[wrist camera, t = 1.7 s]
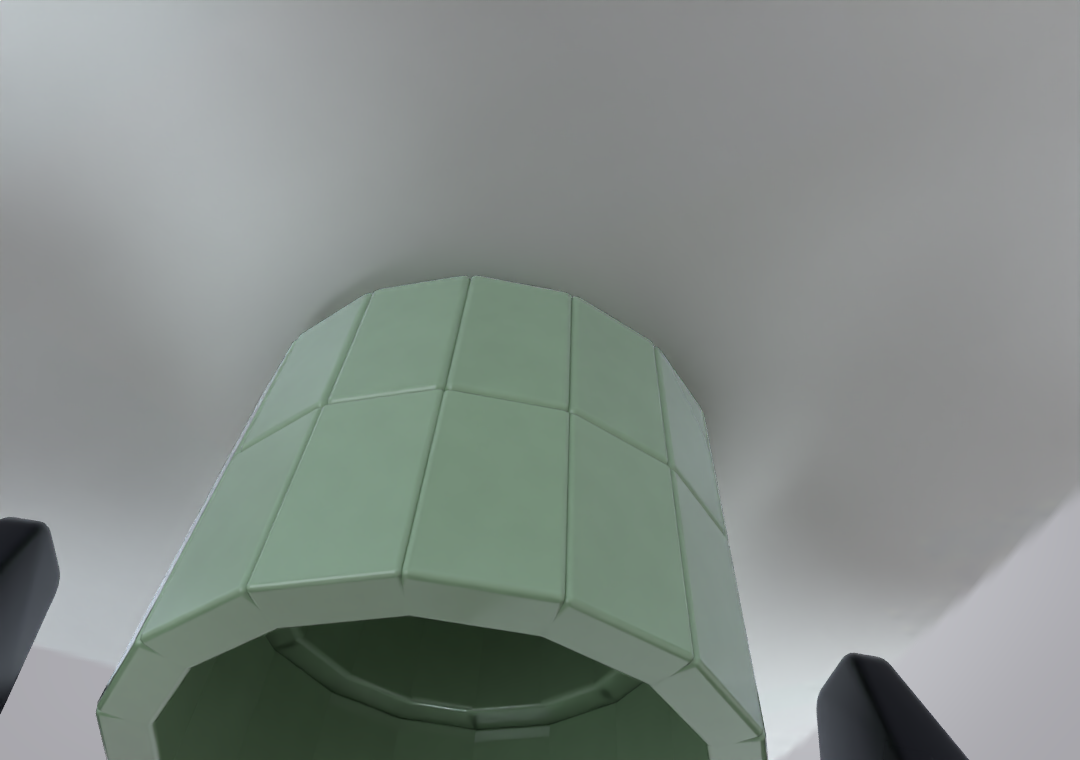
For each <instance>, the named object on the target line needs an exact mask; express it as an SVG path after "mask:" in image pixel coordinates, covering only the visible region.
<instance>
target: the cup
mask: <svg viewBox="0 0 1080 760" xmlns="http://www.w3.org/2000/svg"><path fill="white" fill-rule="evenodd" d="M96 716H97V720H98V725H99V729H100V733H101V737H102V742H103V746H104V750H105V754H106V759H107V760H768V756H767V743H766V733H765V728H764V723H763V717H762V712H761V707H760V702H759V697H758V691H757V686H756V681H755V676H754V671H753V666H752V660H751V655H750V650H749V645H748V640H747V634H746V629H745V624H744V619H743V614H742V608H741V603H740V598H739V593H738V588H737V582H736V577H735V572H734V567H733V562H732V556H731V551H730V546H729V544H728V536H727V530H726V525H725V520H724V515H723V510H722V504H721V499H720V494H719V489H718V484H717V478H716V473H715V468H714V463H713V458H712V452H711V447H710V442H709V437H708V432H707V426H706V421H705V416H704V413H703V412H702V411H701V407H700V406H699V404H698V403H697V401H696V400H695V398H694V397H693V396H692V394H691V393H690V391H689V390H688V388H687V387H686V386H685V384H684V383H683V381H682V380H681V378H680V377H679V376H678V374H677V373H676V371H675V370H674V368H673V367H672V365H671V364H670V363H669V361H668V360H667V358H666V357H665V355H664V354H663V353H662V351H661V350H660V349H659V348H658V347H656V346H654V344H653V343H652V342H651V341H650V340H649V339H647V338H646V337H644V336H642V335H641V334H639V333H638V332H636V331H634V330H633V329H631V328H629V327H628V326H626V325H624V324H623V323H621V322H619V321H618V320H616V319H614V318H613V317H611V316H610V315H608V314H606V313H605V312H603V311H601V310H600V309H598V308H596V307H595V306H593V305H591V304H590V303H588V302H586V301H585V300H583V299H582V298H580V297H577V296H574V297H572V298H571V295H570V294H568V293H567V292H563V291H557V290H552V289H547V288H542V287H536V286H531V285H526V284H521V283H515V282H510V281H505V280H500V279H494V278H489V277H484V276H479V275H477V276H473V277H472V278H471V279H470V278H469V276H465V275H462V276H456V277H450V278H444V279H438V280H432V281H426V282H419V283H413V284H407V285H401V286H395V287H389V288H383V289H378V290H376V291H375V292H373V293H367V294H364V295H363V296H361V297H359V298H358V299H356V300H355V301H353V302H351V303H350V304H348V305H347V306H345V307H343V308H342V309H340V310H339V311H337V312H336V313H334V314H332V315H331V316H329V317H328V318H326V319H324V320H323V321H321V322H320V323H318V324H316V325H315V326H313V327H312V328H310V329H308V330H307V331H305V332H304V333H302V334H301V335H300V336H299V338H298V339H297V340H295V341H294V342H292V344H291V346H290V348H289V349H288V351H287V353H286V355H285V356H284V358H283V360H282V361H281V363H280V365H279V367H278V368H277V370H276V372H275V374H274V375H273V377H272V379H271V381H270V382H269V384H268V386H267V388H266V389H265V391H264V393H263V394H262V396H261V398H260V400H259V402H258V404H257V405H256V407H255V409H254V411H253V413H252V415H251V417H250V419H249V420H248V422H247V424H246V426H245V428H244V430H243V432H242V433H241V435H240V437H239V439H238V441H237V443H236V445H235V447H234V448H233V450H232V452H231V454H230V456H229V458H228V460H227V462H226V463H225V465H224V467H223V469H222V471H221V473H220V475H219V476H218V478H217V480H216V482H215V484H214V486H213V488H212V490H211V491H210V493H209V495H208V497H207V499H206V501H205V503H204V505H203V506H202V508H201V510H200V512H199V515H198V516H197V518H196V520H195V521H194V523H193V525H192V527H191V529H190V531H189V532H188V534H187V536H186V538H185V540H184V542H183V544H182V546H181V547H180V549H179V551H178V553H177V555H176V557H175V559H174V561H173V562H172V564H171V566H170V568H169V570H168V572H167V574H166V575H165V577H164V579H163V581H162V583H161V585H160V587H159V589H158V590H157V592H156V594H155V596H154V598H153V600H152V602H151V603H150V605H149V607H148V609H147V611H146V613H145V615H144V617H143V618H142V620H141V622H140V624H139V626H138V628H137V630H136V632H135V633H134V635H133V637H132V639H131V641H130V643H129V645H128V646H127V648H126V650H125V652H124V654H123V656H122V658H121V660H120V661H119V663H118V665H117V667H116V669H115V671H114V673H113V675H112V676H111V678H110V680H109V682H108V684H107V686H106V688H105V689H104V692H103V693H102V695H101V697H100V699H99V701H98V705H97V710H96Z"/></svg>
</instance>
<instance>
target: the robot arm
mask: <svg viewBox="0 0 1080 760" xmlns="http://www.w3.org/2000/svg"><path fill="white" fill-rule="evenodd" d="M59 579H60V571H59V566H58V562H57V557H56V553H55V549H54V545H53V541H52V537H51V532H50V530H49V527H48V526H47V525H46V524H45V523H43V522H40V521H34V520H28V519H21V518H15V517H7V518H3V519H0V714H1V711H2V709H3V707H4V705H5V703H6V701H7V699H8V697H9V694H10V692H11V690H12V688H13V686H14V684H15V681H16V679H17V677H18V675H19V673H20V670H21V668H22V666H23V664H24V662H25V659H26V657H27V655H28V653H29V651H30V649H31V646H32V644H33V642H34V640H35V638H36V635H37V633H38V631H39V629H40V627H41V624H42V622H43V620H44V618H45V616H46V613H47V611H48V609H49V607H50V605H51V603H52V600H53V598H54V596H55V594H56V591H57V588H58V584H59ZM817 723H818V735H819V748H820V759H821V760H969V759H968V758H967V757H966V756H965V754H964V753H963V752H962V751H961V750H960V748H959V747H958V746H957V745H956V744H955V743H954V741H953V740H952V739H951V738H950V736H949V735H948V734H947V733H946V732H945V730H944V729H943V728H942V727H941V726H940V724H939V723H938V722H937V721H936V719H935V718H934V717H933V716H932V715H931V713H930V712H929V711H928V710H927V709H926V707H925V706H924V705H923V704H922V702H921V701H920V700H919V699H918V698H917V697H916V695H915V694H914V693H913V692H912V690H911V689H910V688H909V687H908V686H907V684H906V683H905V682H904V681H903V680H902V678H901V677H900V676H899V675H898V673H897V672H896V671H895V670H894V669H893V667H892V666H891V665H890V664H889V663H888V662H887V661H885V660H884V659H882V658H880V657H876V656H870V655H864V654H858V653H850V654H848V655H846V656H844V657H843V658H842V660H841V661H840V663H839V664H838V666H837V667H836V669H835V670H834V671H833V673H832V674H831V676H830V677H829V679H828V680H827V682H826V683H825V684H824V686H823V687H822V689H821V691H820V693H819V696H818V700H817Z"/></svg>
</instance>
